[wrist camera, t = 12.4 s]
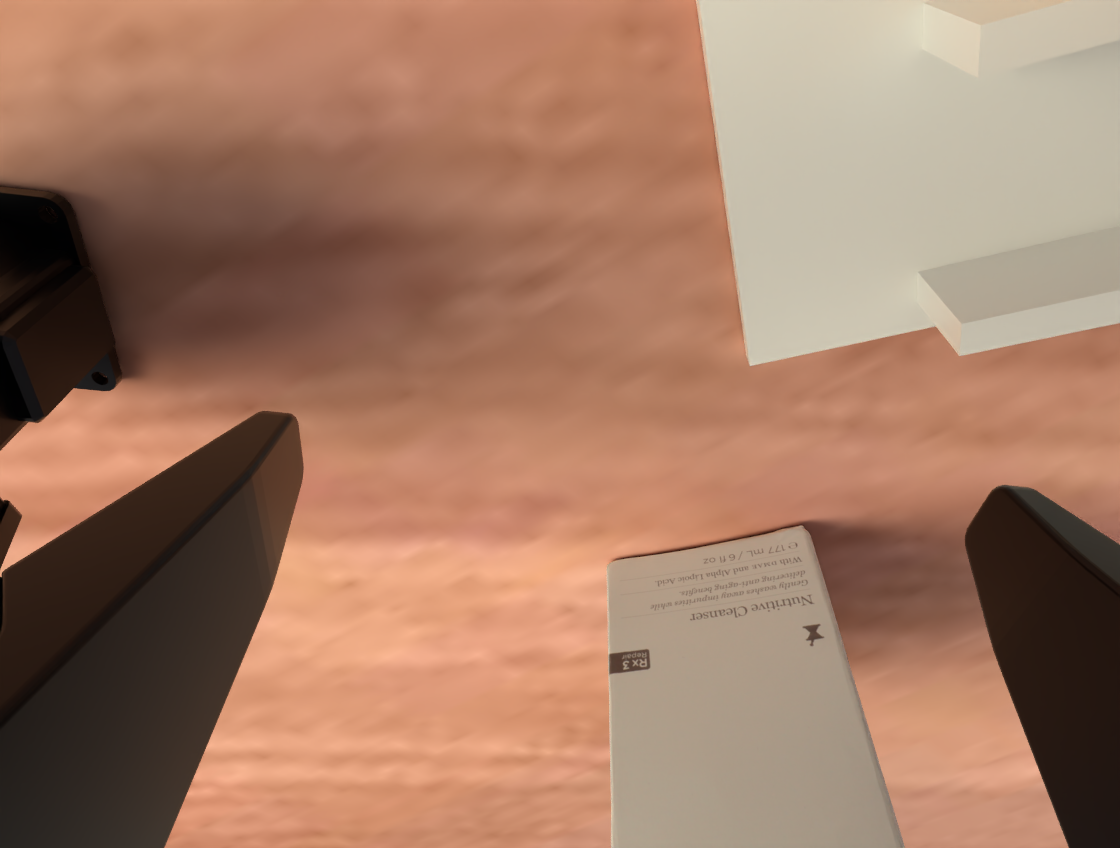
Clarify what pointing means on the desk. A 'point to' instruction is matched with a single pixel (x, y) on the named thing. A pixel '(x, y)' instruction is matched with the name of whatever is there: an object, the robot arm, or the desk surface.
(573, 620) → the desk surface
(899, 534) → the desk surface
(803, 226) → the white ribbed tray
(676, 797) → the skincare box
